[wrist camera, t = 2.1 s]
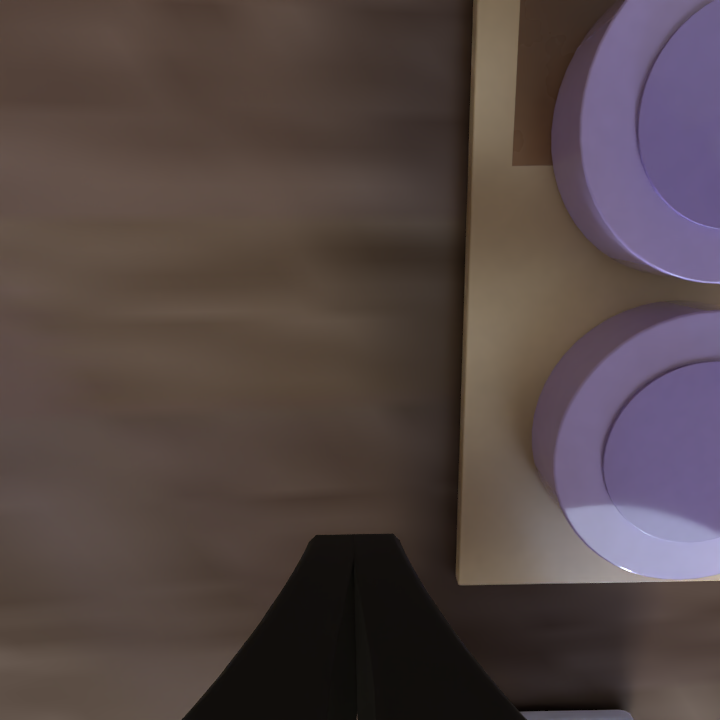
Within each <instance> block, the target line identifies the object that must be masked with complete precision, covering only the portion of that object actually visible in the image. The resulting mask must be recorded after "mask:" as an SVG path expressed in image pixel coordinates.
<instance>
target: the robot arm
mask: <svg viewBox="0 0 720 720" xmlns="http://www.w3.org/2000/svg"><path fill="white" fill-rule="evenodd" d="M357 716H358V720H633V718H632V716H631V715H630V713H628V712H626V711H624V710H574V711H523V712H519V711H518V710H517V708H516V707H515V706H514V705H513V704H512V703H511V702H510V700H509V699H508V698H507V697H506V696H505V695H504V693H503V692H502V691H501V690H500V689H499V688H498V686H497V685H496V684H495V683H494V682H493V680H492V679H491V678H490V677H489V676H488V674H487V673H486V672H485V671H484V669H483V668H482V667H481V665H480V664H479V663H478V662H477V660H476V659H475V658H474V657H473V655H472V654H471V653H470V652H469V650H468V649H467V648H466V646H465V645H464V644H463V642H462V641H461V640H460V638H459V637H458V636H457V634H456V633H455V631H454V630H453V629H452V627H451V626H450V624H449V623H448V621H447V620H446V619H445V617H444V616H443V614H442V613H441V611H440V610H439V608H438V607H437V605H436V604H435V603H434V601H433V600H432V598H431V597H430V595H429V593H428V592H427V590H426V589H425V587H424V586H423V584H422V582H421V580H420V579H419V577H418V575H417V574H416V572H415V570H414V569H413V567H412V565H411V563H410V561H409V559H408V558H407V556H406V554H405V552H404V549H403V547H402V545H401V543H400V540H399V539H398V538H397V537H396V536H395V535H394V534H352V535H316V536H315V537H314V538H313V539H312V540H311V541H310V542H309V543H308V545H307V548H306V550H305V552H304V554H303V555H302V557H301V559H300V561H299V563H298V565H297V566H296V568H295V570H294V571H293V573H292V575H291V576H290V578H289V580H288V581H287V583H286V584H285V586H284V588H283V589H282V591H281V592H280V594H279V595H278V597H277V598H276V600H275V601H274V603H273V604H272V606H271V607H270V609H269V610H268V612H267V613H266V615H265V616H264V618H263V619H262V621H261V622H260V623H259V625H258V626H257V628H256V629H255V630H254V632H253V633H252V634H251V636H250V637H249V638H248V640H247V641H246V642H245V643H244V645H243V646H242V647H241V649H240V650H239V651H238V653H237V654H236V655H235V656H234V658H233V659H232V660H231V662H230V663H229V664H228V666H227V667H226V668H225V669H224V671H223V672H222V673H221V675H220V676H219V677H218V678H217V679H216V681H215V682H214V683H213V684H212V685H211V687H210V688H209V689H208V690H207V691H206V693H205V694H204V695H203V696H202V697H201V698H200V700H199V701H198V702H197V703H196V704H195V705H194V707H193V708H192V709H191V710H190V711H189V712H188V713H187V714H186V716H185V717H184V718H183V719H182V720H356V718H357Z"/></svg>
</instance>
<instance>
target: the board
mask: <svg viewBox="0 0 720 720" xmlns="http://www.w3.org/2000/svg"><path fill="white" fill-rule="evenodd" d="M616 1H617V0H473V27H472V59H471V92H470V124H469V157H468V189H467V222H466V254H465V287H464V319H463V352H462V384H461V417H460V449H459V482H458V514H457V547H456V579H457V582H458V585H508V584H562V583H615V582H669V581H720V574H718V575H713V576H708V577H703V578H697V579H683V580H674V579H659V578H653V577H647V576H643V575H639V574H636V573H632V572H629V571H627V570H624V569H622V568H620V567H617V566H615V565H613V564H611V563H610V562H608V561H606V560H605V559H603V558H601V557H600V556H598V555H597V554H596V553H595V552H593V551H592V550H591V549H590V548H589V547H587V546H586V545H585V544H584V542H583V541H582V540H581V539H580V538H579V537H578V536H577V535H576V534H575V532H574V531H573V529H572V528H571V527H570V525H569V524H568V522H567V521H566V520H565V518H564V517H563V515H562V514H561V513H560V511H559V510H558V508H557V507H556V506H555V504H554V503H553V501H552V500H551V498H550V497H549V495H548V494H547V492H546V491H545V489H544V487H543V485H542V483H541V481H540V479H539V476H538V473H537V470H536V467H535V463H534V458H533V451H532V426H533V418H534V413H535V409H536V406H537V402H538V399H539V396H540V394H541V392H542V389H543V387H544V384H545V382H546V381H547V379H548V377H549V375H550V374H551V372H552V370H553V369H554V367H555V366H556V365H557V363H558V362H559V361H560V359H561V358H562V357H563V355H564V354H565V353H566V352H567V351H568V350H569V349H570V348H571V347H572V346H573V345H574V344H575V343H576V342H577V341H578V340H579V339H580V338H581V337H583V336H584V335H585V334H586V333H587V332H589V331H590V330H591V329H593V328H594V327H596V326H597V325H599V324H601V323H602V322H604V321H605V320H607V319H609V318H611V317H613V316H615V315H617V314H619V313H621V312H623V311H626V310H629V309H632V308H635V307H638V306H641V305H645V304H650V303H655V302H660V301H673V300H685V301H698V302H703V303H708V304H713V305H718V306H720V284H712V283H699V282H694V281H688V280H682V279H676V278H670V277H664V276H658V275H653V274H648V273H643V272H640V271H637V270H634V269H632V268H629V267H626V266H624V265H623V264H621V263H619V262H617V261H615V260H613V259H611V258H610V257H608V256H607V255H606V254H604V253H603V252H601V251H600V250H599V249H597V248H596V247H595V246H594V245H593V244H592V243H591V242H590V241H589V240H588V239H587V238H586V237H585V236H584V234H583V233H582V232H581V231H580V229H579V228H578V227H577V226H576V224H575V223H574V221H573V219H572V218H571V216H570V214H569V212H568V211H567V209H566V207H565V205H564V202H563V200H562V197H561V195H560V192H559V190H558V186H557V182H556V178H555V174H554V170H553V161H552V153H551V130H552V122H553V114H554V108H555V104H556V100H557V96H558V92H559V88H560V86H561V83H562V80H563V78H564V75H565V72H566V70H567V67H568V65H569V63H570V61H571V59H572V58H573V56H574V54H575V52H576V50H577V48H578V46H579V45H580V43H581V42H582V40H583V39H584V37H585V36H586V34H587V33H588V31H589V30H590V29H591V27H592V26H593V25H594V24H595V23H596V22H597V20H598V19H599V18H600V17H601V16H602V15H603V13H604V12H605V11H606V10H607V9H608V8H609V7H611V6H612V5H613V4H614V3H615V2H616Z"/></svg>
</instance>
